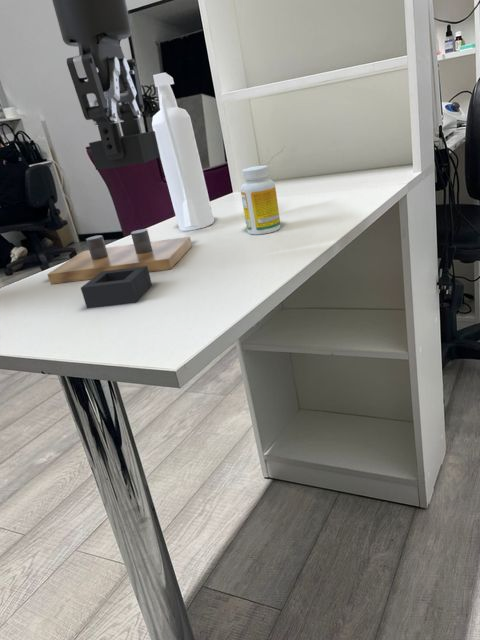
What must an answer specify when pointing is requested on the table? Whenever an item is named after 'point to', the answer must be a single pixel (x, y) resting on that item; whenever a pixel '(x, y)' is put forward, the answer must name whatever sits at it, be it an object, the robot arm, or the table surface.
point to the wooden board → (121, 257)
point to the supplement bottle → (259, 201)
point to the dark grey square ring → (116, 287)
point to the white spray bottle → (180, 159)
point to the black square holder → (128, 151)
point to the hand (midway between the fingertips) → (127, 155)
